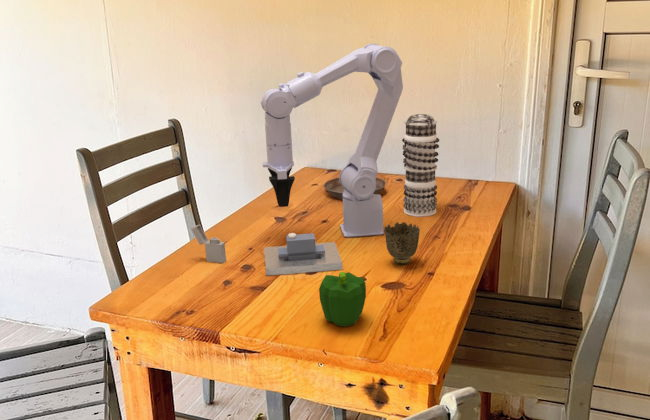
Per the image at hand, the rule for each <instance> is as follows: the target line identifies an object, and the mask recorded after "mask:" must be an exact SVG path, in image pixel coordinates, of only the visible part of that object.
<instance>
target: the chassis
mask: <svg viewBox="0 0 650 420" xmlns="http://www.w3.org/2000/svg"><path fill="white" fill-rule="evenodd" d="M315 244H316V246H317V245H323V246H324V249H325V254H316V259H311V260H298V261H288V258H287V257H279V256H278V248H287V245H279V246H267V247H265V246H264V247H263V253H264V254H263V255H264V262H265V265H264V266H265V276H267V277H268V276H278V275H279V276H280V275H291V274H293V275H294V274H303V273H307V274H308V273H317V272H331V271H342V270H343V261H342V257H341V255H340V253H339V250H338V246H337V245H336V242H335V241H332V242H320V243H318V242H317V243H316V242H315Z"/></svg>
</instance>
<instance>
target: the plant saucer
mask: <svg viewBox="0 0 650 420" xmlns="http://www.w3.org/2000/svg"><path fill="white" fill-rule="evenodd" d="M386 183H387V182H386V181H385V180H384V179H382V178H379V177H376V189H375V192H374V193H373V194H379V195H380V193H382V192H383V190H384V188H385V186H386V185H387V184H386ZM323 188H324V189H325V191H326V192H327V193H328V194H329V195H330V196H331V197H333V198H334V199H339V200H343V192H344V187H343V186H342V185H341V183H340V180H339V177H335V178H332V179H330V180H327V181H325V182H324V183H323Z"/></svg>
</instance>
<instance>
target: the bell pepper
mask: <svg viewBox="0 0 650 420" xmlns="http://www.w3.org/2000/svg"><path fill="white" fill-rule="evenodd" d="M366 284H367V283H366V280H365V279H364V277H362V276H361V277H359V276H357V275H355V274H353V273H351V272H349V271H347V272H345V271H340V272H339V273H338V275H334V274H333V275H330V274H325V276H324V278H323V279H322V281H321V282H320V284H319V288H318V292H319V301H320V305H321V309H322V312H323V315H324V317H325V319H326V320H327V321H328V322H330V323H334V325H337V326H339V327H349V326H354V325H355V324H356V323H357V322H358V321H359V320H360V318H361V316H362V313H363V310H364V306H365V303H366V298H367V287H366Z"/></svg>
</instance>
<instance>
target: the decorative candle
mask: <svg viewBox="0 0 650 420" xmlns="http://www.w3.org/2000/svg"><path fill="white" fill-rule="evenodd" d="M404 124H405V133H404V138H402V139H401V140H402V142H403V145H402V150H403V151H402V155H403V157H404V158H403V161H402V163H403V170H405V178H404V185H403V189H404V191H403V195H404V197H403V212H404V214H405V215H408V216H410V217H417V218H418V217H421V218H423V217H430V216H433V215H435V214H436V213H437V202H438V198H437V197H436V196H437V193H438V191H436V190H437V189H438V185H437V181H436V180H437V178H436V170H438V165H437V164H436V163H438V161H439V159H438V158H437V157H438V156H439V152H437V151H436V149H438V148H440V145H439V144H438V143H439V142H440V139H439V137H437V124H438V121H437V120H435V119H434V117H433V116H432V115H430V114H427V113H426V114H425V113H418V114H411V115H410V116H408V118H407V119H406V120H405V121H404Z"/></svg>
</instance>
